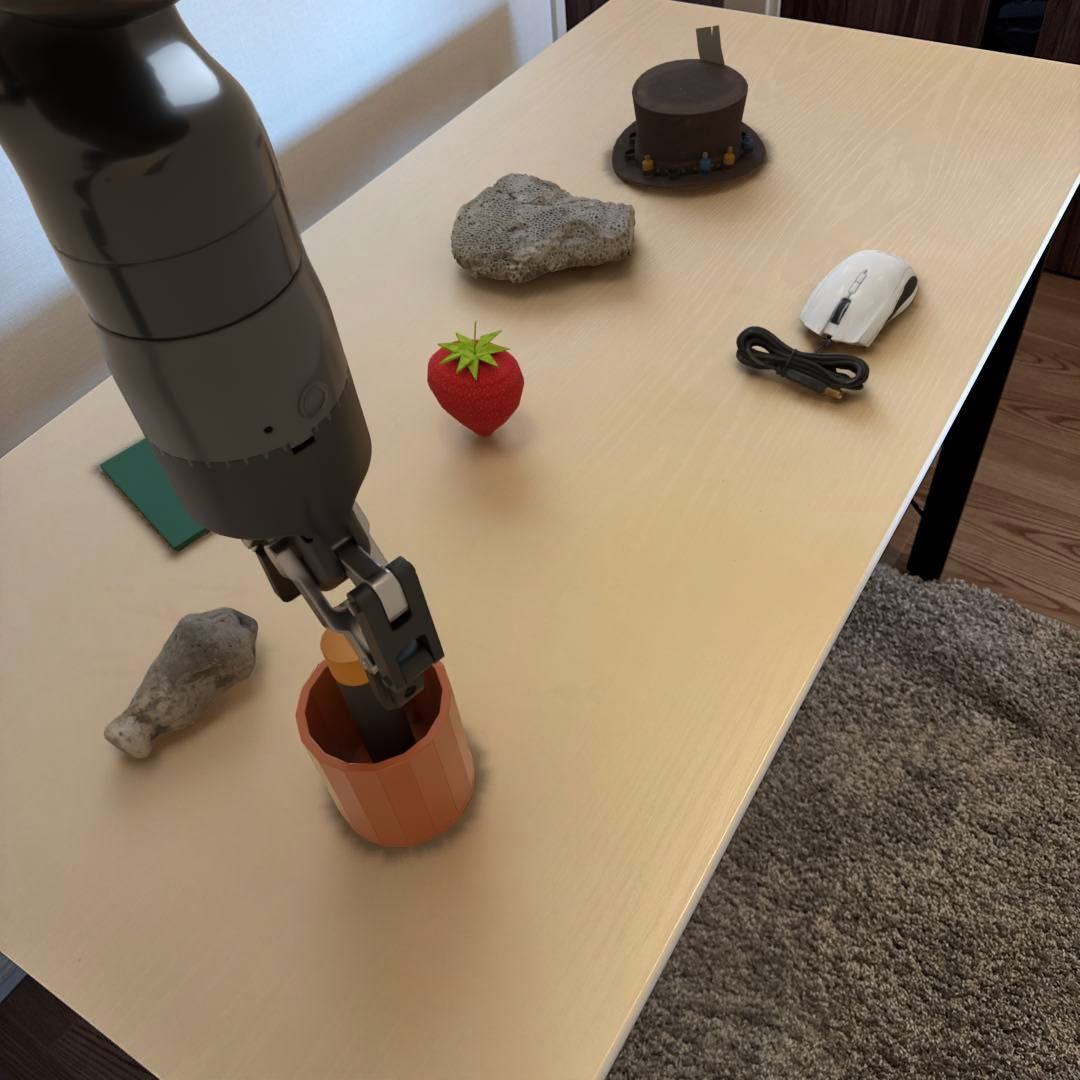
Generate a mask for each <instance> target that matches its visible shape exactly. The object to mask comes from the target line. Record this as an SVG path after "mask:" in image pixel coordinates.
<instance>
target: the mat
mask: <svg viewBox="0 0 1080 1080" xmlns="http://www.w3.org/2000/svg"><path fill="white" fill-rule="evenodd" d="M99 467H100V468H101V470H102V471H103V472H104V474H106V475H107V477H108V478H109V479H110V480H111V481H112V482H113V484H115V486H116V487H117V488H118V489H119V490H120V491H121V492H122V493H123V494H124V496H126V498H127V499H128V501H130V502H131V503H132V504H133V505H134V507H135V508H136V509H137V510H138V511H139V513H141V514H142V516H144V518H145V519H146V520H147V522H149V524H151V525H152V527H153V528H154V530H156V531H157V532H158V533H159V534H160V535H161V537H162V538H163V539H164V540H165V541H166V543H168V544H169V545H170V547H171V548H172V549H173V550H174V551H175V552H178V551H181V550H182V549H183V548H185V547H187V546H188V545H190V544H191V543H193V542H194V541H196V540H197V539H199V538H201V537H202V536H204V535H205V534H207V533H208V532H211V531H210V530H208V529H206V528H204V527H203V526H201V525H200V524H198V523H197V522H196V521H195V520H194V519H193V518H191V517H190V515H189V514H188V513H187V512H186V511H185V509H184V507H183V506H182V504H181V502H180V500H179V499H178V497H177V495H176V493H175V491H174V489H173V487H172V486H171V484H170V482H169V480H168V478H167V476H166V474H165V473H164V471H163V469H162V467H161V465H160V463H159V461H158V460H157V458H156V456H155V454H154V453H153V451H152V449H151V447H150V445H149V443H148V441H147V440H146V438H145V437H144V438H143V439H141V440H139V441H138V442H135V444H133V445H130V446H129V447H127V448H126V449H124V450H122V451H121V452H119V453H117V454H116V455H114V456H112V457H110V458H108V459H107V460H105V461H104V462H102V463H100V464H99Z"/></svg>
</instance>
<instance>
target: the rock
mask: <svg viewBox="0 0 1080 1080" xmlns="http://www.w3.org/2000/svg"><path fill="white" fill-rule="evenodd" d="M635 215H636V211H635V207H634V206H633V205H632V204H625V203H624V202H618V203H615V202H612V201H607V202H605V201H604V202H603V201H602V200H601V199H596V198H592V199H591V198H589V197H586V196H577V195H576V196H575V195H572V194H571V193H570V192H569V191H567V190H565V189H562V188H561V186H560V185H559V184H557V183H556V182H553V181H550V180H545V179H541V178H539V177H538V176H534V175H532V174H531V175H530V174H529V175H528V174H527V173H517V172H510V173H508V174H506V175H504V176H502V177H500V178H498V179H497V180H496V182H495V183H494V184H493V186H487V187H485V188H484V189H483V190H482V191H481V192H479V193H478V194H477V196H475V197H474V198H472V199H471V200H469V201H468V202H466V203H463V204H462V205H460V207H459V208H458V210H457V212H456V214H455V219H454V222H453V225H452V230H451V235H450V240H451V241H450V242H451V243H450V247H451V254H452V256H453V259H454V260H455V262H456V264H457V265H458V266H460V267H461V268H462V269H464V270H468V271H471V272H470V276H472V277H473V278H485V277H486V278H489V279H494V280H497V281H498V280H499V281H510V282H511V283H513V284H515V283H518V284H523V283H527V282H530V281H532V280H535V279H537V278H539V277H541V276H542V275H544V274H545V273H549V272H551V273H553V272H556V271H557V272H558V271H560V270H565V269H567V268H574V267H578V268H579V267H580V266H582V267H586V266H592V267H594V266H599V265H603V264H605V263H609V262H612V261H619V260H625V259H629V258H630V257H632V255H631V254H632V251H633V250H632V248H633V242H634V241H635V239H634V238H635V226H636V218H635V217H636V216H635Z"/></svg>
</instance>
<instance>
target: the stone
mask: <svg viewBox="0 0 1080 1080" xmlns="http://www.w3.org/2000/svg"><path fill="white" fill-rule="evenodd" d="M258 633H259V624H258V621H257V620H256V619H255V618H253V617H252V616H250V615H248V614H245V613H243V612H241V611H240V610H237V609H235V608H231V607H228V606H227V607H225V606H223V607H217V608H214V609H209V610H207V611H204V612H203V611H202V612H193V613H192V612H191V613H187V614H185V615H184V616H182V617H181V618H180V620H179V621H178V622H177V624H176V626H175V627H174V629H173V630H172V632H171V634H170V635H169V636H168V638H167V639H166V641H165V642H164V644H163V646H162V649H161V650H160V652H159V654H158V655H157V657H155V659H154V660H153V661H152V663H151V664H150V666H149V668H148V669H147V671H146V673H145V674H144V677H143V679H142V681H141V683H140V685H139V686H138V688H137V690H136V691H135V693H134V695H133V697H132V698H131V700H130V702H129V704H128V706H127V707H126V708H125V710H124V711H123V712H121V713H120V714H119V715H117V717H115V718H114V719H112V720H111V721H110V722H109V723H107V725H106V726H105V727H104V730H103V737H104V739H105V740H106V741H107V742H108V743H110V744H111V745H112V746H114V747H115V748H116V749H118V750H120V751H121V752H122V753H125V755H128V756H130V757H132V758H134V759H144V758H147V757H148V756H149V755H150V753H151V751H152V748H153V746H154V742H155V740H156V739H157V737H159V736H160V735H162V734H166V733H173V732H177V731H180V730H183V729H185V728H187V727H189V726H191V725H192V724H194V723H195V722H197V720H198V719H199V718H201V717H202V716H203V715H204V714H205V712H207V710H208V709H210V707H211V706H212V705H213V704H214V702H216V700H217V699H218V698H219V697H220V696H222V695H223V694H224V693H225V692H227V691H228V690H230V689H232V688H233V687H234V686H237V685H238V684H240V683H241V682H243V681H245V680H247V679H249V678H250V677H251V676H252V675H253V673H254V671H255V668H256V665H257V663H256V658H257V657H256V656H257V655H256V653H257V647H256V646H257V645H256V644H257V638H258Z"/></svg>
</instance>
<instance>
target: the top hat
mask: <svg viewBox="0 0 1080 1080" xmlns="http://www.w3.org/2000/svg"><path fill="white" fill-rule="evenodd" d="M695 35H696V36H695V37H696V45H697V51H698V57H699V58H683V59H674V60H670V61H666V62H663V63H660V64H657V65H654V66H652V67H651V68H649V69H647V70H646V71H644V72H643V73H642V74H640V76H638V78H636V80H635V81H634V83H633V84H632V85H633V86H632V87H631V88H632V89H631V98H632V103H633V110H634V116H635V121H633V122H632V123H631V124H629V125H628V126H626V128H625V129H624V130H623V131H622V132H621V133H620V135H619V136H618V137H617V139H616V141H615V143H614V145H613V147H612V152H611V164H612V169H613V171H614V172H615V174H616V176H618V177H619V178H621V179H622V180H623V181H625V182H628V183H630V184H633V185H635V186H639V187H644V188H650V189H660V190H680V189H693V188H694V189H695V188H703V187H709V186H714V185H719V184H724V183H728V182H731V181H735V180H738V179H740V178H743V177H746V176H749V175H750V174H752V173H753V172H755V171H756V170H758V169H759V168H760V167H761V166H762V165H763V164H764V162H765V160H766V156H767V155H766V153H767V150H766V147H765V143H764V142H763V140H762V139H761V138H760V136H759V134H758V133H757V132H756V131H755V130H754V129H753V128H752V127H750V126H749V125H748V124H746V123H745V122H744V121H743V118H744V112H745V107H746V103H747V97H748V93H749V84H748V81H747V79H746V78H745V77H744V76H743V74H742V73H740V72H739V71H737V70H736V69H734V68H733V67H730V66H729V65H727V64H726V63H725V59H724V53H723V49H722V43H721V40H722V39H721V31H720V25H719V24H717V25H712V26H704V27H698V28H697V27H696V28H695Z"/></svg>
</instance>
